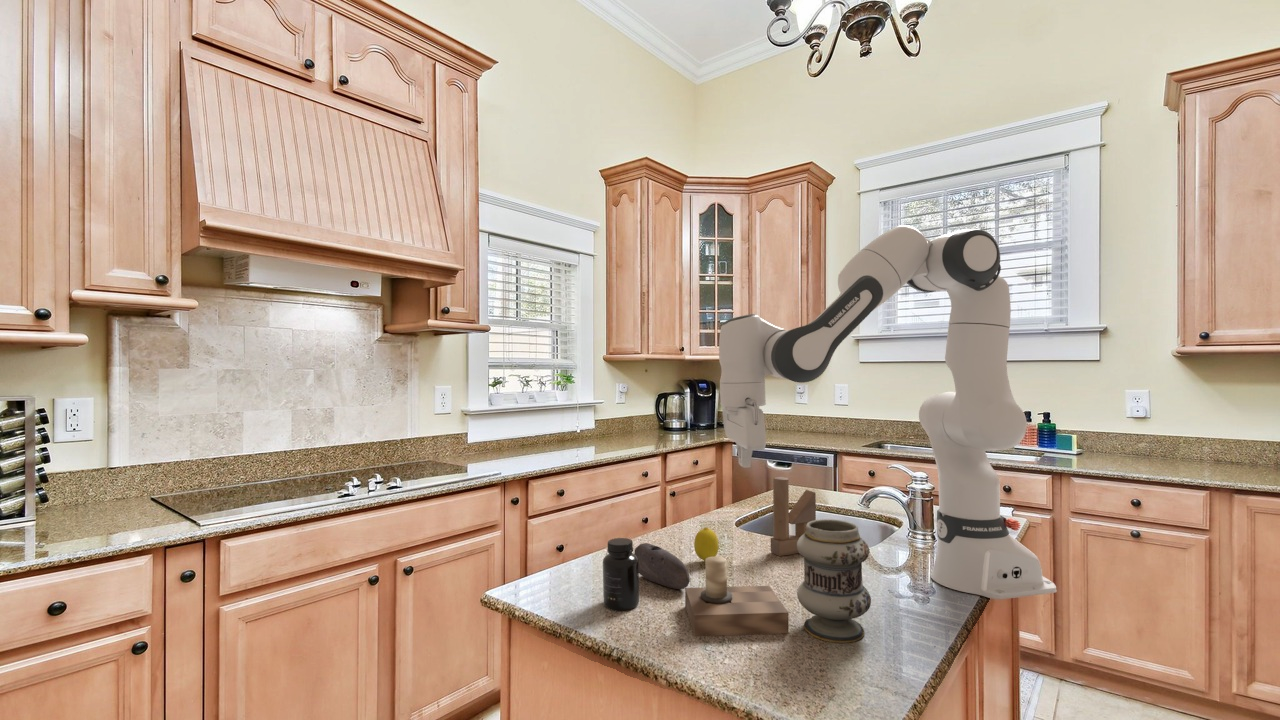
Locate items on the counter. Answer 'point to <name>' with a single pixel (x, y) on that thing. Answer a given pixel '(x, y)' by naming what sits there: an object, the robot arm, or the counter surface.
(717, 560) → the maple peg
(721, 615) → the walnut board
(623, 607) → the supplement bottle
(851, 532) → the apothecary jar
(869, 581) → the counter surface
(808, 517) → the wooden block structure
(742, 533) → the counter surface
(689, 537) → the counter surface
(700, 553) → the lemon
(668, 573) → the perforated stone tool
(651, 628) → the counter surface
